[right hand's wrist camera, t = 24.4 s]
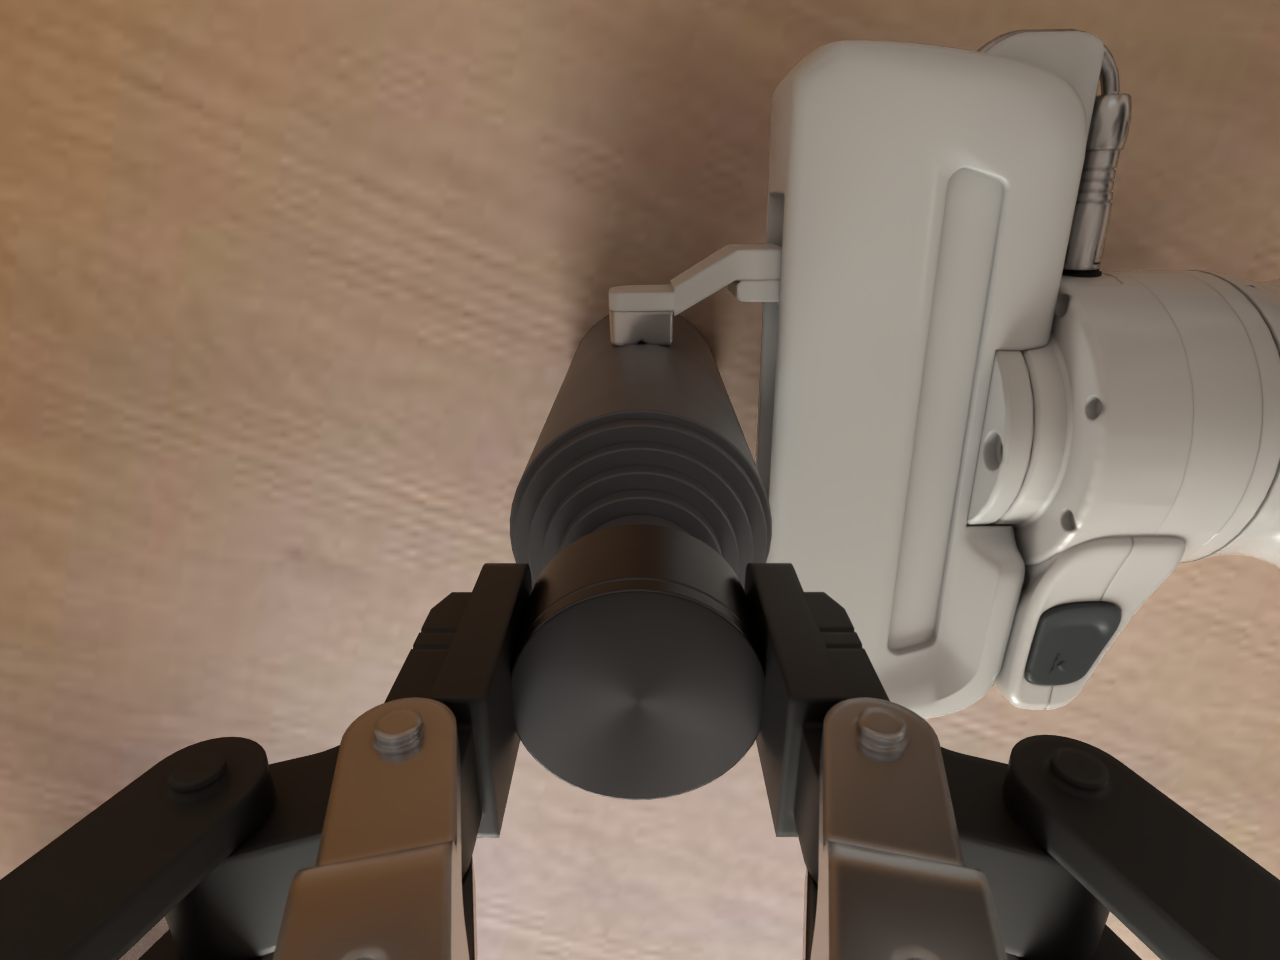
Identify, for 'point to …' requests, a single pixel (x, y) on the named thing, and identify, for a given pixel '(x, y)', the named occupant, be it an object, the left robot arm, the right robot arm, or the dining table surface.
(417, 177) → the dining table surface
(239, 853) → the right robot arm
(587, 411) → the bottle
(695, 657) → the cap
